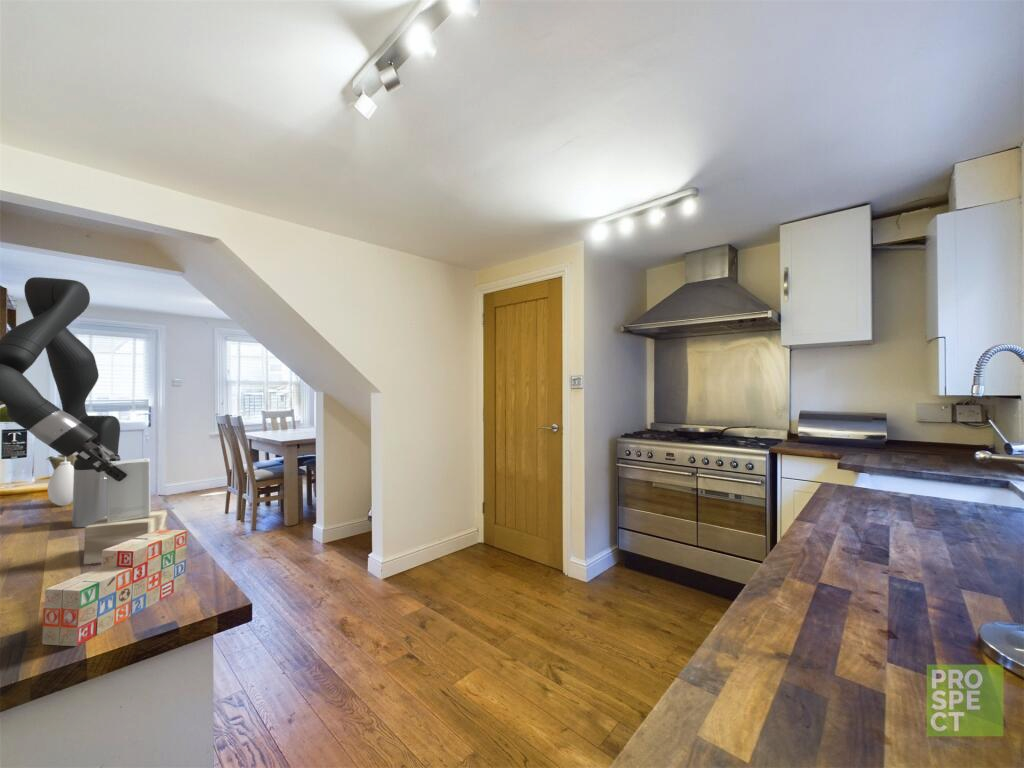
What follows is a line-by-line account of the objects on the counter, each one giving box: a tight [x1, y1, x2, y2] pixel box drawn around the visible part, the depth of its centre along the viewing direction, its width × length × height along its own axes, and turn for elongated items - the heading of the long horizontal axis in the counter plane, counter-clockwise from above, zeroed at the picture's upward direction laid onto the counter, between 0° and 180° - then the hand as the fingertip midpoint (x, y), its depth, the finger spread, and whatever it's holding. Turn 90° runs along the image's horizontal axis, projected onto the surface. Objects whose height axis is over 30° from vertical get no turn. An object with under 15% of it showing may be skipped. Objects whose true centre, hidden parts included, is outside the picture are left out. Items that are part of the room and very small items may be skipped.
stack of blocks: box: [41, 529, 188, 647], centre depth 79 cm, size 21×6×12 cm, turn 177°
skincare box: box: [107, 457, 151, 523], centre depth 106 cm, size 8×6×15 cm
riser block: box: [83, 508, 168, 565], centre depth 107 cm, size 12×12×9 cm
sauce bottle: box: [47, 456, 74, 507], centre depth 146 cm, size 8×8×18 cm
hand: (126, 475), depth 107 cm, fingers open, 8 cm apart
